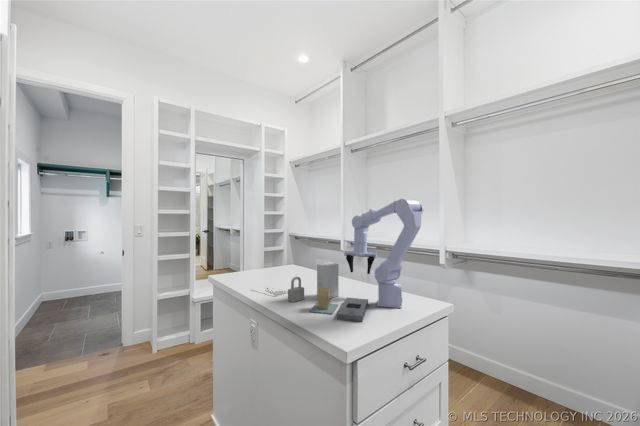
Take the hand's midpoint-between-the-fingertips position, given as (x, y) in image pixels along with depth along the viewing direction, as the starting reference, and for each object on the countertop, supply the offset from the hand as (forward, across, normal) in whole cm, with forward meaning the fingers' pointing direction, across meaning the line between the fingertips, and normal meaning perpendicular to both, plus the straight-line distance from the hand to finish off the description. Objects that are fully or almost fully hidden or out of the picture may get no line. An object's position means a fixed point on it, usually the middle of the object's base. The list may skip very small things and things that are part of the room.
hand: (360, 272), depth 128 cm
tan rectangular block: (+10, -9, -22) cm, 26 cm away
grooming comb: (+12, -42, -7) cm, 44 cm away
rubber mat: (+10, -9, -22) cm, 26 cm away
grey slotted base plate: (+10, +2, -21) cm, 23 cm away
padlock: (+11, -24, -15) cm, 31 cm away
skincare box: (+11, -13, -6) cm, 18 cm away
